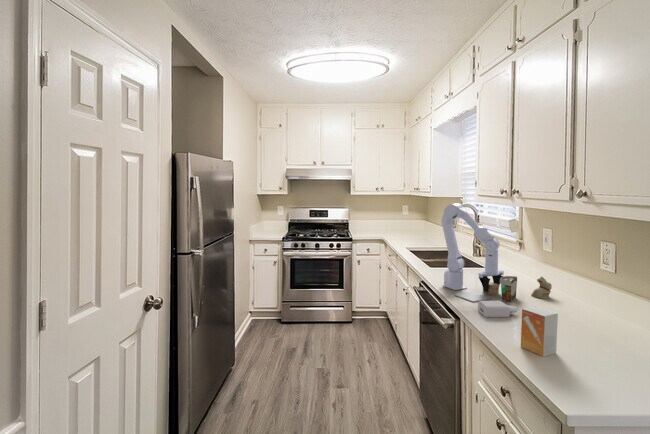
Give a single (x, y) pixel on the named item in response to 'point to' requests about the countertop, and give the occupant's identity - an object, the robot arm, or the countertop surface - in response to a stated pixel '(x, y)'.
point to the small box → (539, 331)
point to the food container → (508, 288)
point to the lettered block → (492, 289)
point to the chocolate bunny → (542, 289)
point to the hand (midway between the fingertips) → (490, 290)
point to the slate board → (472, 297)
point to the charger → (495, 309)
